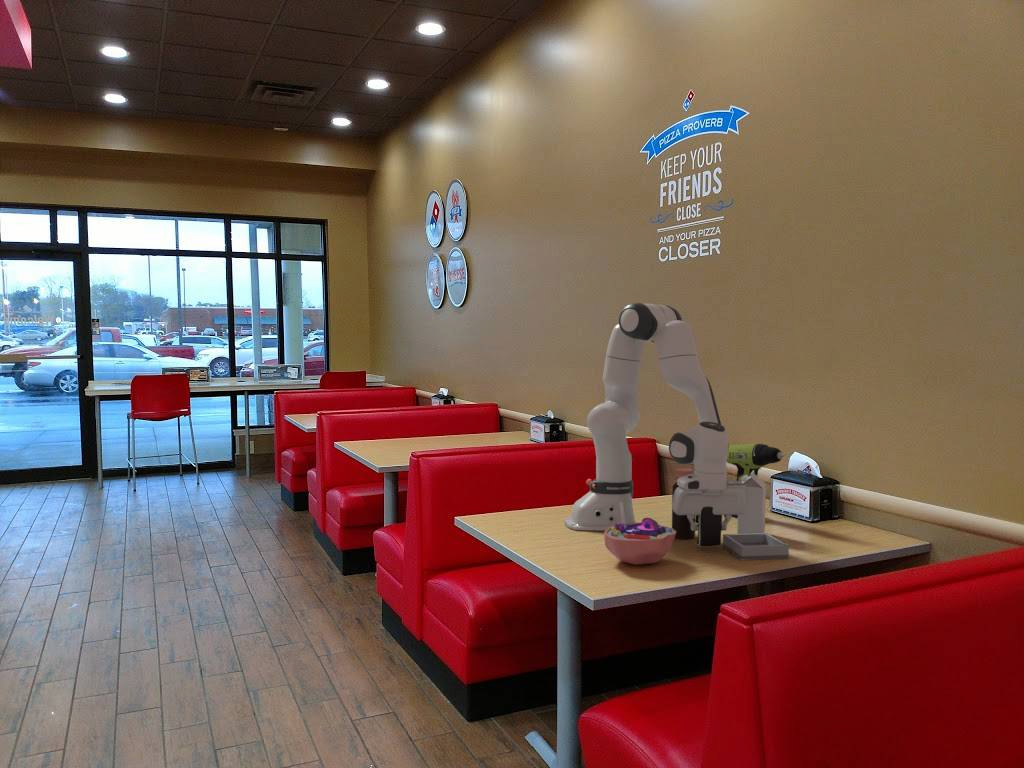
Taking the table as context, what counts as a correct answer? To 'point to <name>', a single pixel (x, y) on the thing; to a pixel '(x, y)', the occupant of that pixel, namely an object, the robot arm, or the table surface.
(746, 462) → the cordless drill
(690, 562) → the table surface
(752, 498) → the milk carton
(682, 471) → the bottle
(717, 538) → the battery charger
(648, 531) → the cell model
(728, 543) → the tray
